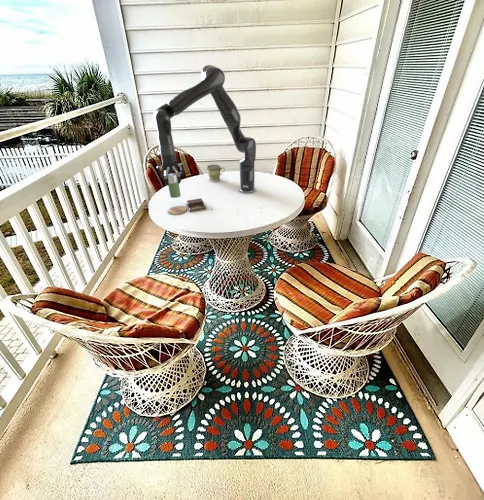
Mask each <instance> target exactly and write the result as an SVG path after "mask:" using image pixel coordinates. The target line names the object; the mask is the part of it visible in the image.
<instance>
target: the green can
mask: <svg viewBox="0 0 484 500" xmlns="http://www.w3.org/2000/svg"><path fill="white" fill-rule="evenodd" d="M177 176H178V175H177V174H176V173H175V172H171V173H168V175H167V182H168V185H167V187H168V192H169V197H170V198H171V199H172V198H173V199H176V198H180V197H181V195H182V194H181V188H180V184H179V183H178V177H177Z"/></svg>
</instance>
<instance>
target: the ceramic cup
mask: <svg viewBox="0 0 484 500" xmlns="http://www.w3.org/2000/svg"><path fill="white" fill-rule="evenodd" d="M222 169H223V171H222V172H221V170H222ZM206 171H207V175H208V178H209V181H210V182H211V183H217V182H220V177H221V175H222V174H223V173H224V172H225V171H226V168H225V167H222V166H221V165H220V164H209V165H207V166H206Z"/></svg>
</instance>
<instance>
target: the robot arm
mask: <svg viewBox="0 0 484 500" xmlns="http://www.w3.org/2000/svg"><path fill="white" fill-rule="evenodd" d="M200 77H201V81H200V82H198V83H197V84H195V85H194V86H192V87H189V88H187V89H185V90H183V91H181V92H179V93H178V94H176V95H175V96H174V97H172V98H171V99H170V100H169V101H168V102H166V103H164V104H163V105H161V106H159V107H158V108H157V109H155V110H154V112H153V115H152V117H153V120H154V122H155V124H156V128H157V141H158V146H159V153H160V158H161V163H162V164H161V165H160V166H159V165H157V166H156V169H157V172H158V174H159V177H160V179H163V181H164V184H165V185H166V186H168V182H167V175H168V174H172V173H176V174H177V177H178V183H179V185H180V184H181V182H182V178H181V177H182V176H184V163H182V162H180V163H178V161H177V154H176V149H175V145H174V139H173V133H172V120H171V119H173V118H174V117H175V116H178V115H180V114H182V113H183V112H184V111H186V110H187V109H188V108H190V107H191V106H192V105H194V104H195V103H196V102H198V101H200V100H201V99H203V98H204V97H206V96H208V95H211V97H212V98H213V101H214V103H215V105H216V108H217V109H218V112H219V114H220V116H221V117H222V120H223V122H224V123H225V125H226V127H227V129H228V131H229V133H230V136H231V137H232V140H233V143H234V146H235V148H236V150H237V151H238V152H239V153H242V154H244V157H243V158H241V159H239V187H240V190H239V191H240V193H243V194H249V193H251V194H252V193H254V192H255V161H256V157H257V156H256V155H257V142H256V139H255V138H254V137H249V136H246V135H244V133H243V131H242V128H241V122H242V118H241V117H242V116H241V113H240V111H239V109H238V107H237V105H236V103H235V102H234V101H233V99H232V98H231V96H230V95H229V94H228V93H227V91H226V90H225V88H224V85H225V81H226V75H225V72H224V71H223V70H222V69H221V68H219V67H217V66H216V65H212V64H207V65H204V67H203V68H202V69H201V73H200ZM178 167H179V170H180V172H179V171H178ZM162 170H164V172H163V173H164V174H162Z"/></svg>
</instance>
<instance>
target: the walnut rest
mask: <svg viewBox="0 0 484 500" xmlns="http://www.w3.org/2000/svg"><path fill="white" fill-rule="evenodd" d="M186 205H187V209H188V210H189V212H190V213H191V212H197V211H203V210H206V206H205V205H204V200H203V199H202V198H195V199H188V200H186Z"/></svg>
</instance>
